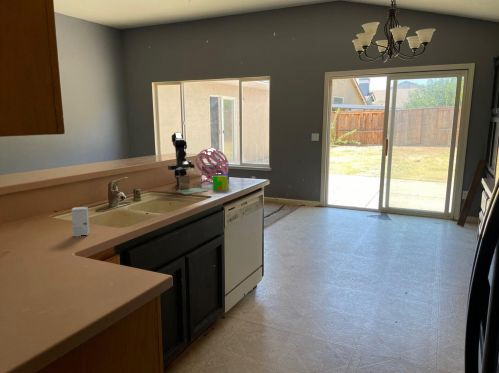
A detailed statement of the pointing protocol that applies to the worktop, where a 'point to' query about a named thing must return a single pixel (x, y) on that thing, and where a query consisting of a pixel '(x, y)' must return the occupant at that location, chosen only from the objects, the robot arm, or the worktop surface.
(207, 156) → the spiral basket
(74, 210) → the skincare box
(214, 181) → the puzzle toy
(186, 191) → the mat
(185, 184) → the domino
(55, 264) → the worktop surface
